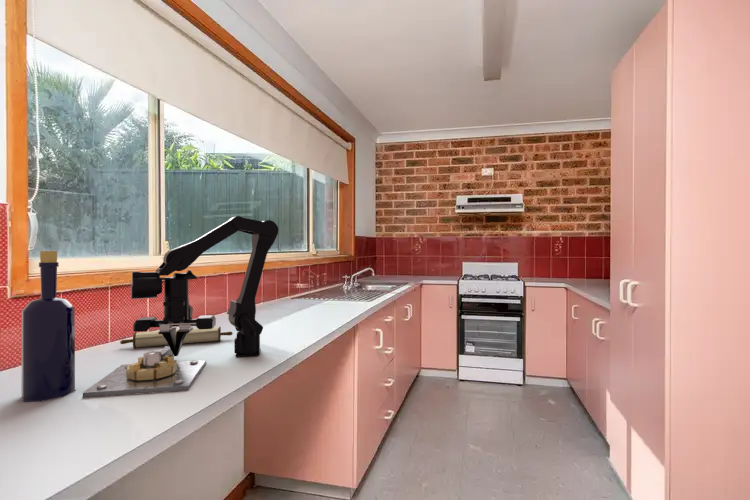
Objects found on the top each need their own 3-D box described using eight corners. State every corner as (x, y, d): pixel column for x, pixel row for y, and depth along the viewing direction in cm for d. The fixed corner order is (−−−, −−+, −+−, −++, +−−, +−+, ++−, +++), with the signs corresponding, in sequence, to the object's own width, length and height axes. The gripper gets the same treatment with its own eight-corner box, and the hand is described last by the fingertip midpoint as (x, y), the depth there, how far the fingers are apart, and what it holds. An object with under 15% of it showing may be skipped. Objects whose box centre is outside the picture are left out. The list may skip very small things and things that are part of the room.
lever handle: (192, 352, 111) (192, 340, 111) (169, 378, 89) (169, 362, 89) (153, 354, 109) (153, 342, 109) (120, 381, 87) (120, 365, 87)
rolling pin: (232, 338, 135) (232, 324, 135) (232, 342, 130) (232, 327, 130) (122, 347, 123) (122, 331, 123) (118, 351, 118) (118, 335, 118)
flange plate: (206, 363, 105) (206, 341, 105) (188, 390, 85) (188, 362, 85) (122, 368, 101) (122, 345, 100) (82, 397, 81) (82, 368, 81)
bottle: (86, 389, 86) (86, 251, 86) (38, 404, 77) (38, 251, 77) (57, 384, 89) (57, 250, 89) (8, 398, 80) (8, 251, 80)
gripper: (219, 292, 114) (218, 346, 114) (147, 293, 110) (147, 350, 110) (212, 297, 103) (211, 357, 103) (132, 298, 99) (132, 361, 99)
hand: (176, 355), depth 104 cm, fingers closed
